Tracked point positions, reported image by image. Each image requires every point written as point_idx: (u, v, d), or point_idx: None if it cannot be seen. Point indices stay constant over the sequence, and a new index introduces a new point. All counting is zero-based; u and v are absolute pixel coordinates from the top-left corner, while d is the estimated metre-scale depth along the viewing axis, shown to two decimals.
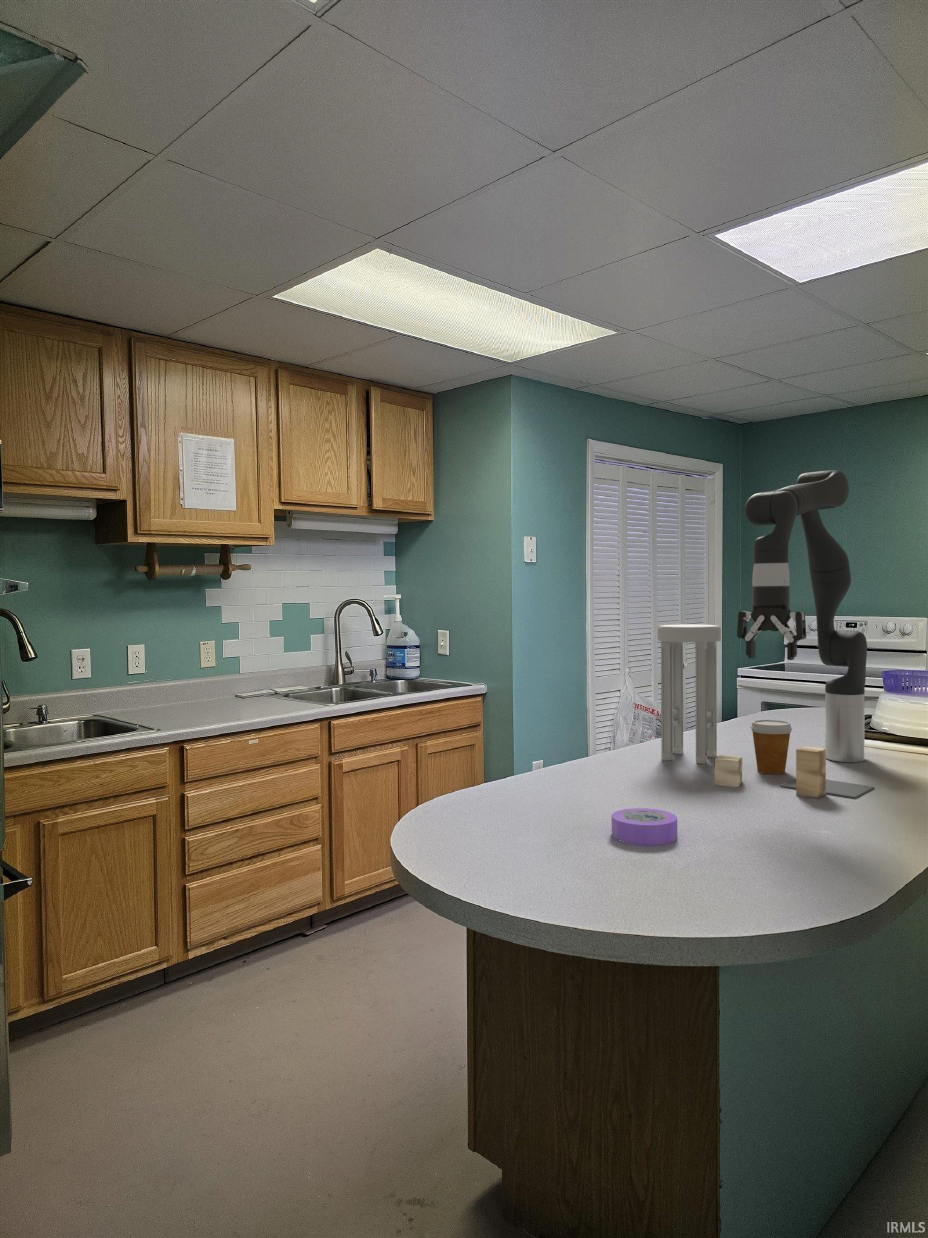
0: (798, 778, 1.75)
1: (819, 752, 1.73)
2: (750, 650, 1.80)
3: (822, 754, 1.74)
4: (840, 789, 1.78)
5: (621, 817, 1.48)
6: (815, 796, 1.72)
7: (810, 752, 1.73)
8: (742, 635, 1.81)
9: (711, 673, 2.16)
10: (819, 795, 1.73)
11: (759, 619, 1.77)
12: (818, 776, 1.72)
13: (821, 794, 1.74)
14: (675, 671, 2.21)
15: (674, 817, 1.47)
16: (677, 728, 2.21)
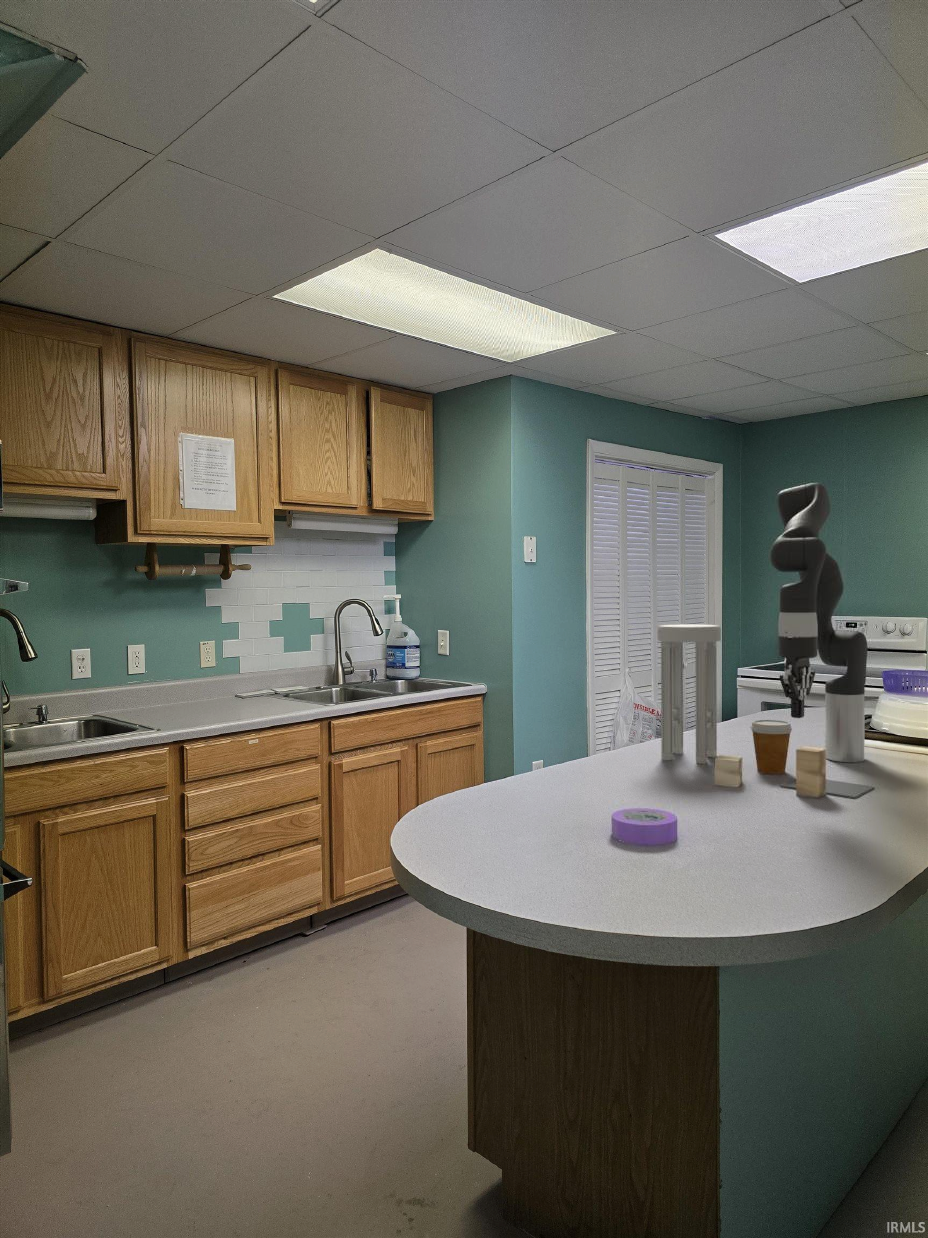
0: (798, 778, 1.75)
1: (819, 752, 1.73)
2: (802, 709, 1.69)
3: (822, 754, 1.74)
4: (840, 789, 1.78)
5: (621, 817, 1.48)
6: (815, 796, 1.72)
7: (810, 752, 1.73)
8: None
9: (711, 673, 2.16)
10: (819, 795, 1.73)
11: (804, 672, 1.67)
12: (818, 776, 1.72)
13: (821, 794, 1.74)
14: (675, 671, 2.21)
15: (674, 817, 1.47)
16: (677, 728, 2.21)
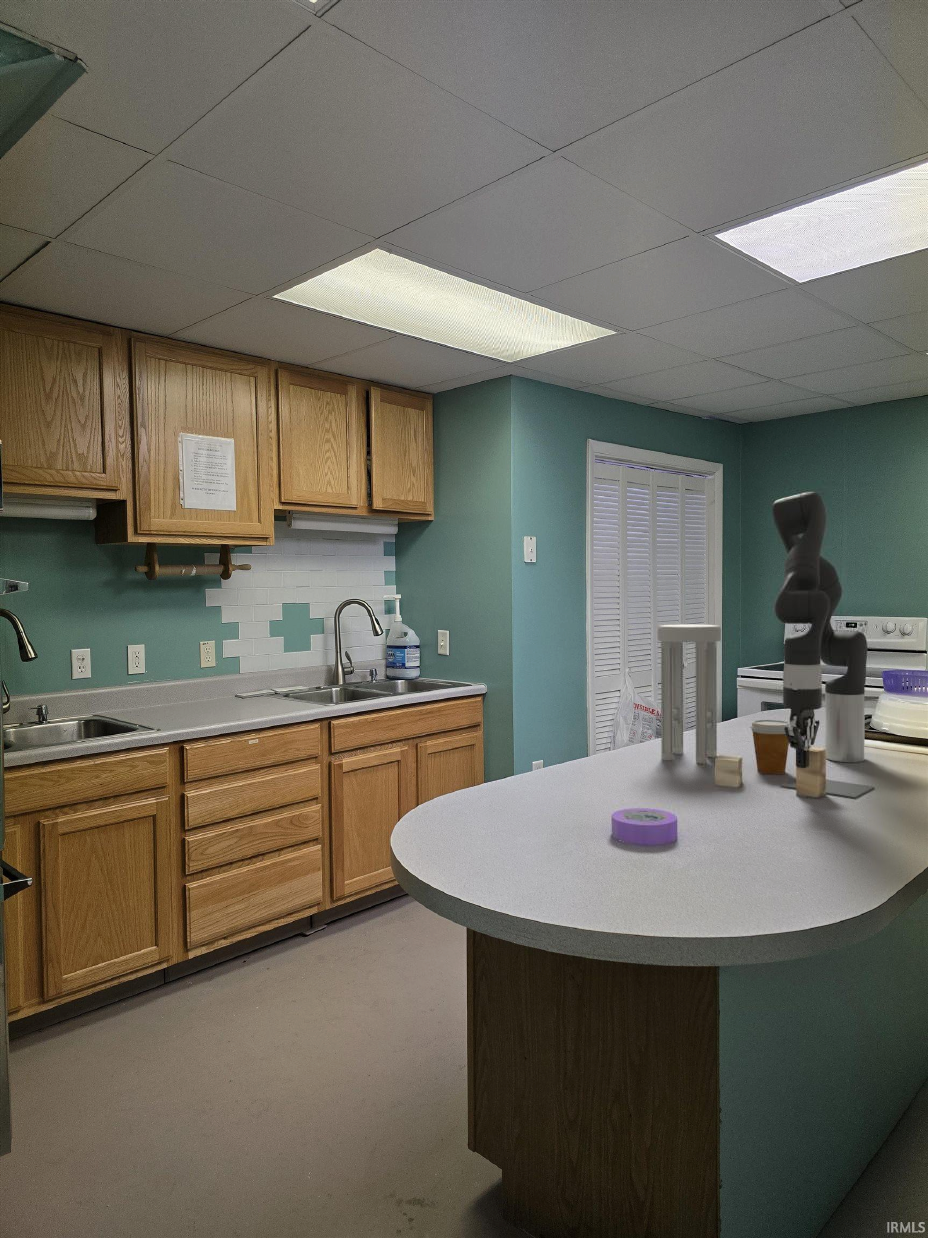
0: (798, 778, 1.75)
1: (819, 752, 1.73)
2: (807, 759, 1.71)
3: (822, 754, 1.74)
4: (840, 789, 1.78)
5: (621, 817, 1.48)
6: (815, 796, 1.72)
7: (810, 752, 1.73)
8: None
9: (711, 673, 2.16)
10: (819, 795, 1.73)
11: (809, 724, 1.69)
12: (818, 776, 1.72)
13: (821, 794, 1.74)
14: (675, 671, 2.21)
15: (674, 817, 1.47)
16: (677, 728, 2.21)
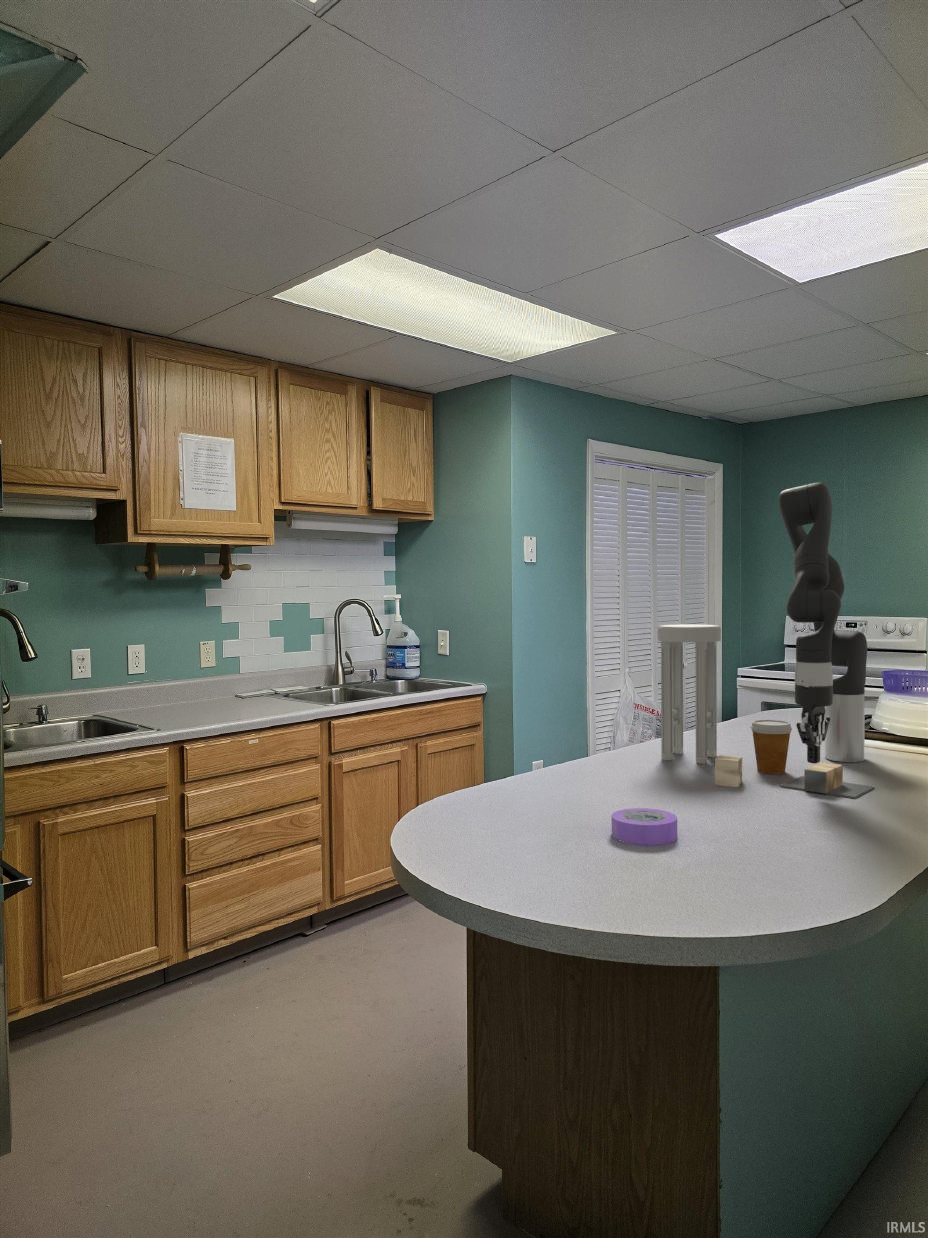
0: (813, 766, 1.81)
1: (842, 769, 1.82)
2: (818, 755, 1.75)
3: (841, 778, 1.82)
4: (840, 789, 1.78)
5: (621, 817, 1.48)
6: (824, 771, 1.76)
7: (835, 764, 1.83)
8: None
9: (711, 673, 2.16)
10: (826, 776, 1.76)
11: (820, 720, 1.73)
12: (833, 771, 1.78)
13: (826, 782, 1.76)
14: (675, 671, 2.21)
15: (674, 817, 1.47)
16: (677, 728, 2.21)
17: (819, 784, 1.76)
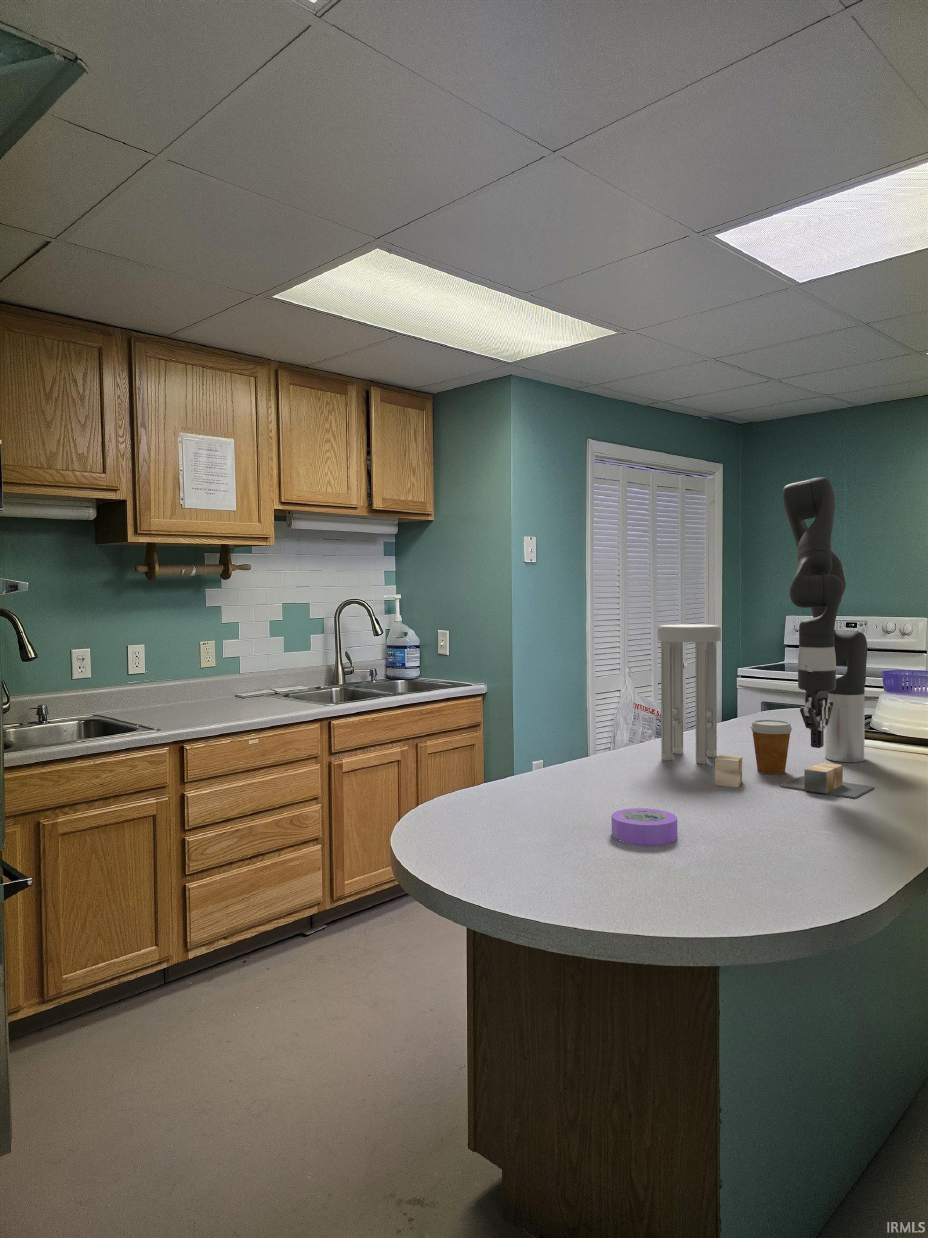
0: (813, 766, 1.81)
1: (842, 769, 1.82)
2: (821, 739, 1.76)
3: (841, 778, 1.82)
4: (840, 789, 1.78)
5: (621, 817, 1.48)
6: (824, 771, 1.76)
7: (835, 764, 1.83)
8: None
9: (711, 673, 2.16)
10: (826, 776, 1.76)
11: (823, 705, 1.74)
12: (833, 771, 1.78)
13: (826, 782, 1.76)
14: (675, 671, 2.21)
15: (674, 817, 1.47)
16: (677, 728, 2.21)
17: (819, 784, 1.76)
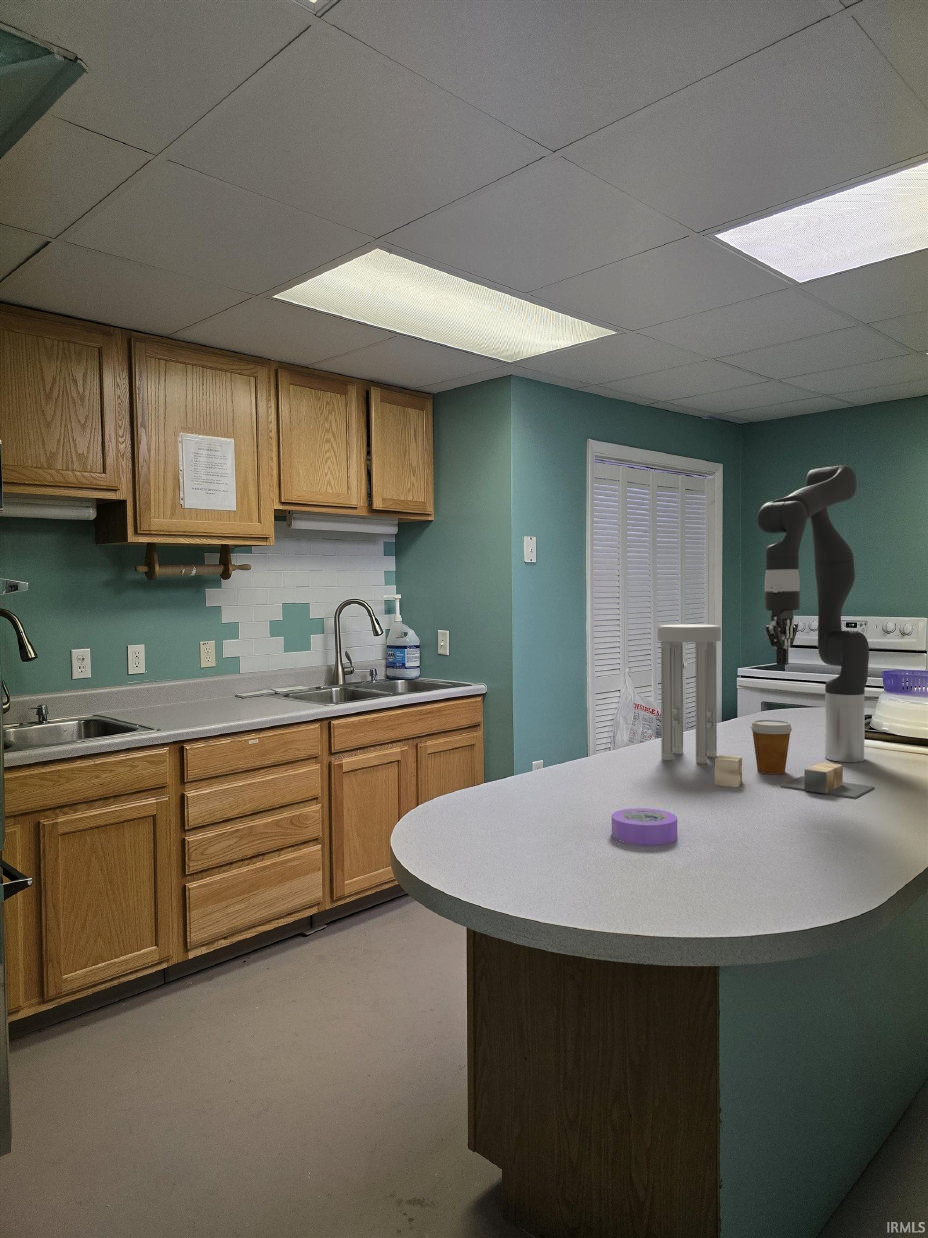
0: (813, 766, 1.81)
1: (842, 769, 1.82)
2: (786, 657, 1.86)
3: (841, 778, 1.82)
4: (840, 789, 1.78)
5: (621, 817, 1.48)
6: (824, 771, 1.76)
7: (835, 764, 1.83)
8: None
9: (711, 673, 2.16)
10: (826, 776, 1.76)
11: (788, 624, 1.85)
12: (833, 771, 1.78)
13: (826, 782, 1.76)
14: (675, 671, 2.21)
15: (674, 817, 1.47)
16: (677, 728, 2.21)
17: (819, 784, 1.76)
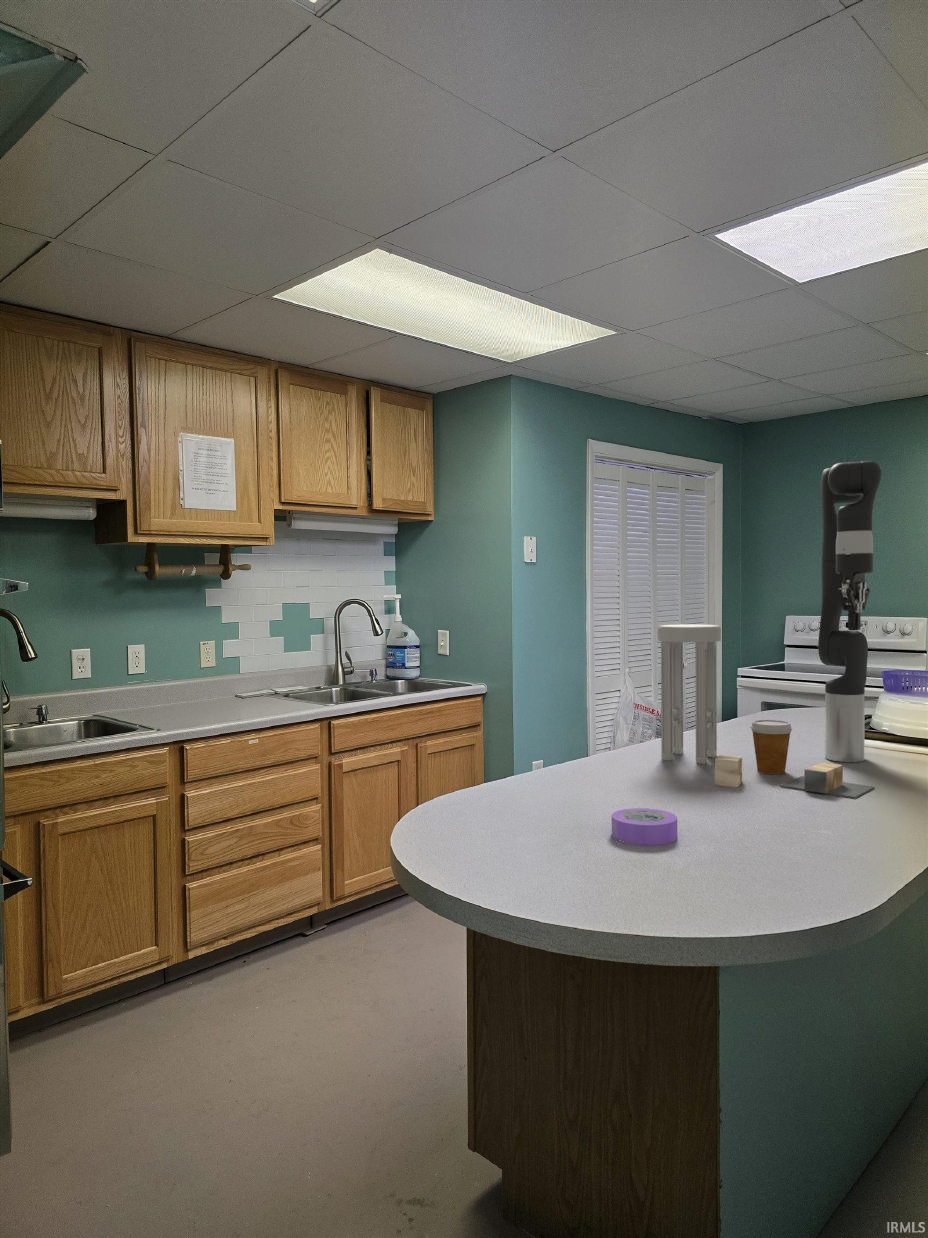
0: (813, 766, 1.81)
1: (842, 769, 1.82)
2: (858, 622, 1.81)
3: (841, 778, 1.82)
4: (840, 789, 1.78)
5: (621, 817, 1.48)
6: (824, 771, 1.76)
7: (835, 764, 1.83)
8: None
9: (711, 673, 2.16)
10: (826, 776, 1.76)
11: (861, 587, 1.79)
12: (833, 771, 1.78)
13: (826, 782, 1.76)
14: (675, 671, 2.21)
15: (674, 817, 1.47)
16: (677, 728, 2.21)
17: (819, 784, 1.76)
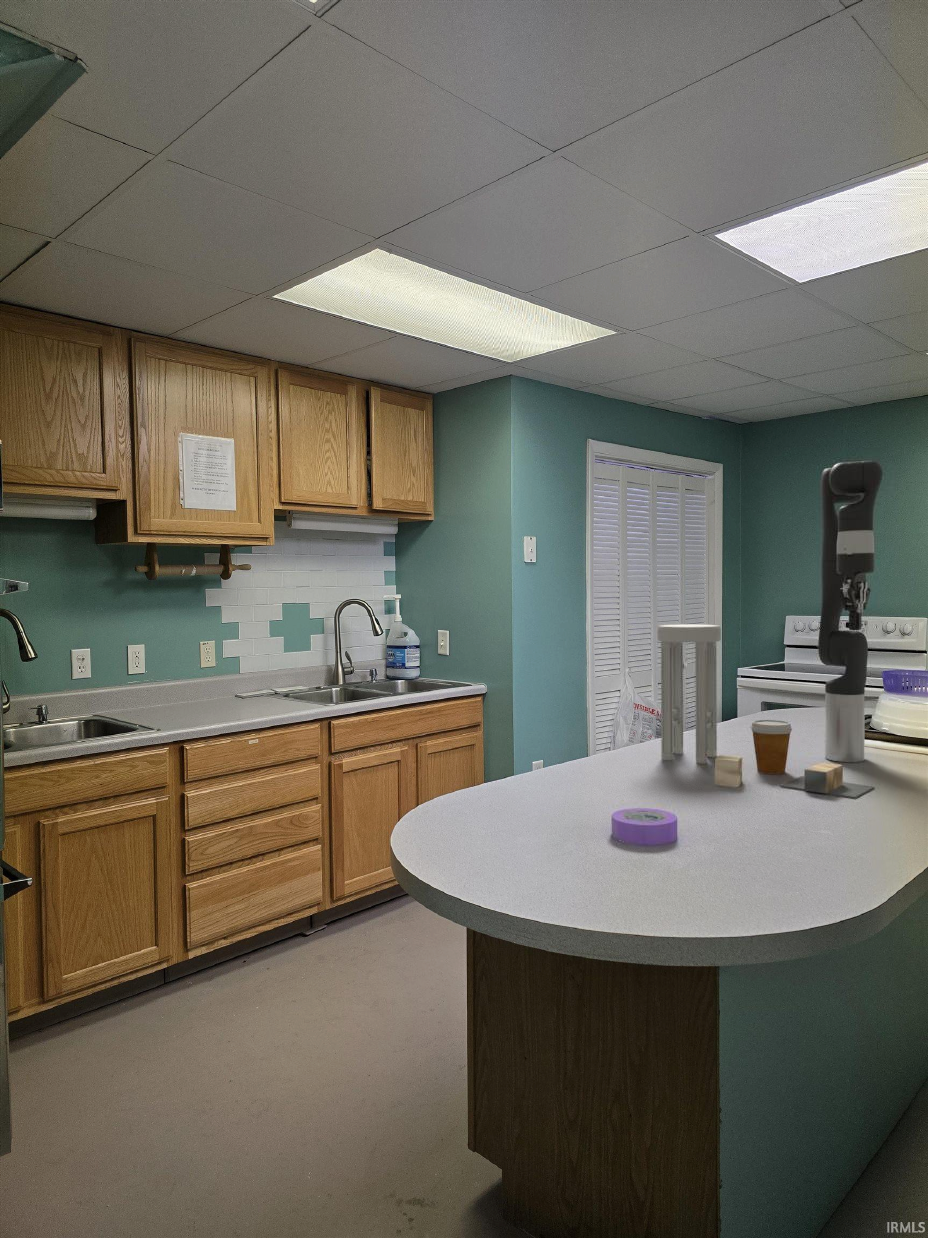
0: (813, 766, 1.81)
1: (842, 769, 1.82)
2: (859, 622, 1.81)
3: (841, 778, 1.82)
4: (840, 789, 1.78)
5: (621, 817, 1.48)
6: (824, 771, 1.76)
7: (835, 764, 1.83)
8: None
9: (711, 673, 2.16)
10: (826, 776, 1.76)
11: (862, 587, 1.79)
12: (833, 771, 1.78)
13: (826, 782, 1.76)
14: (675, 671, 2.21)
15: (674, 817, 1.47)
16: (677, 728, 2.21)
17: (819, 784, 1.76)
